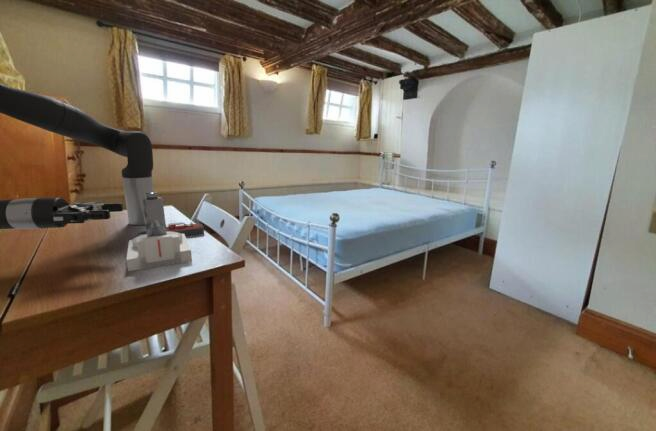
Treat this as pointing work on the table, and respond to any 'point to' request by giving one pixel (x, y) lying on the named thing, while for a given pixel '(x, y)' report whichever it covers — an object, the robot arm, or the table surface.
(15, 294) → the table surface
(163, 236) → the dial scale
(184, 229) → the walkie-talkie
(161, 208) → the steel weight
